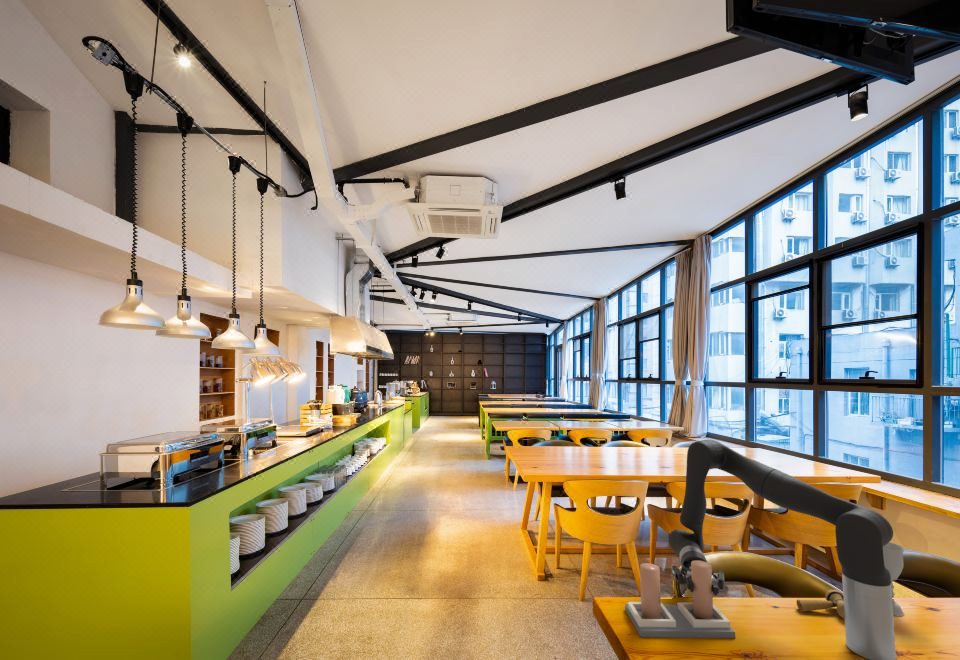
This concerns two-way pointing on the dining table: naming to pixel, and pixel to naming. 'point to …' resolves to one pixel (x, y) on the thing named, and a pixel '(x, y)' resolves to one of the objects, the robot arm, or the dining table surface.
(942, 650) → the dining table surface
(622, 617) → the dining table surface
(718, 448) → the robot arm
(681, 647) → the dining table surface
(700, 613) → the post
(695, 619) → the grey peg holder
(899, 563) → the chalice
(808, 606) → the kendama
